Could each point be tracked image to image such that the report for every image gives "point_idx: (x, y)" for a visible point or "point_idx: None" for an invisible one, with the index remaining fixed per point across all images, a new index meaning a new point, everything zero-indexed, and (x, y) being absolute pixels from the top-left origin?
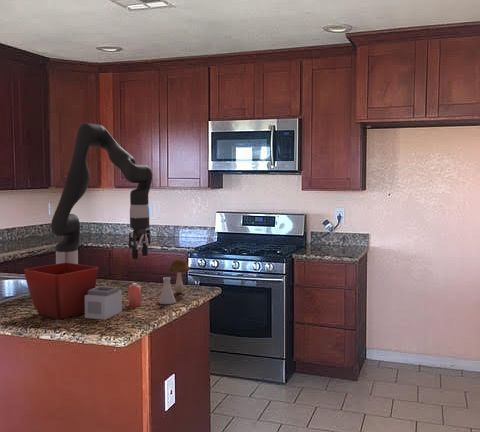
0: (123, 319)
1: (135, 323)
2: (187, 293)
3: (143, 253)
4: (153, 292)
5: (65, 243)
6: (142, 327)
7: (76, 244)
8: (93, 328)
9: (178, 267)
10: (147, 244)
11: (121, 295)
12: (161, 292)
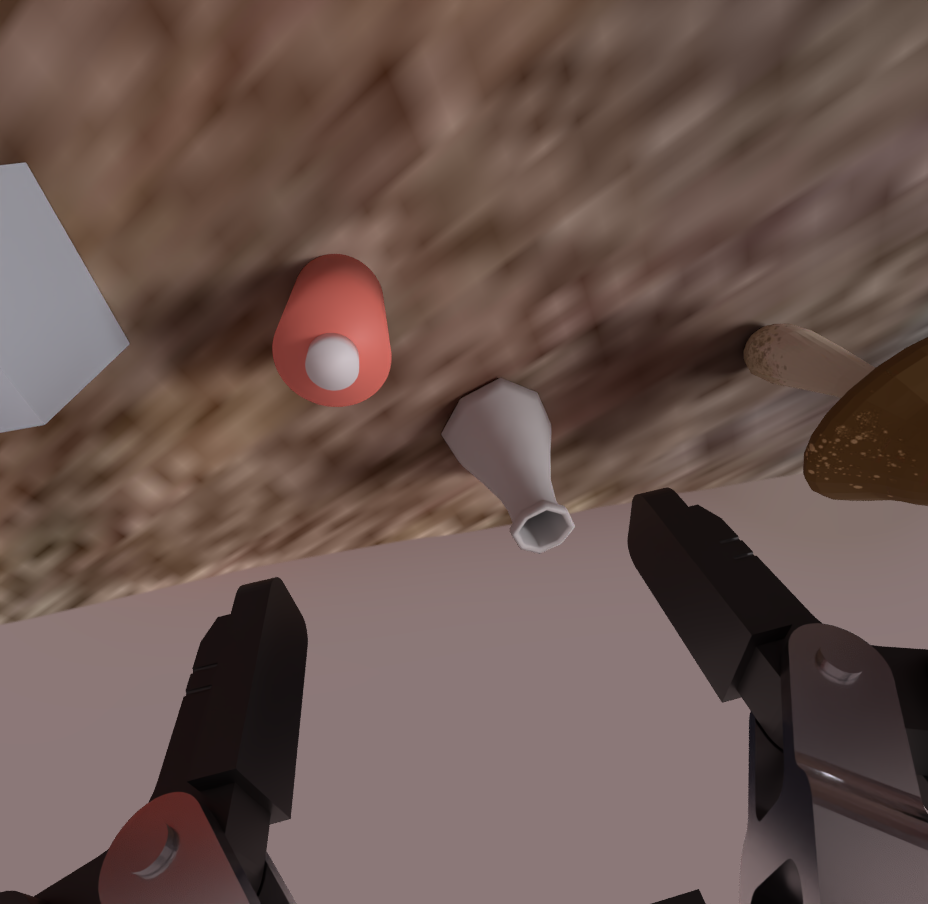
0: (14, 468)
1: (27, 555)
2: (750, 388)
3: (654, 537)
4: (773, 156)
5: None
6: (14, 609)
7: None
8: None
9: (849, 474)
10: (774, 755)
11: (65, 402)
12: (489, 447)
